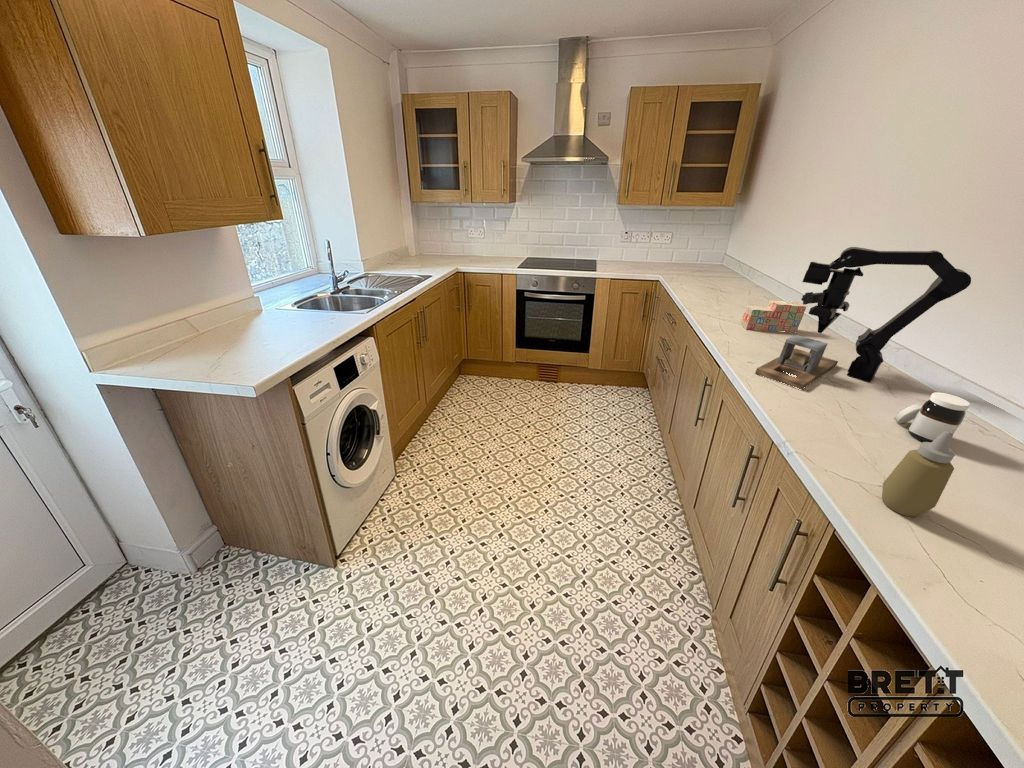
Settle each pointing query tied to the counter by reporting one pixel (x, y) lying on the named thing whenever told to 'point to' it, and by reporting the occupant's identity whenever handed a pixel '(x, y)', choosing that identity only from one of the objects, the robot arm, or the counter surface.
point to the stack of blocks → (774, 316)
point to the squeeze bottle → (920, 477)
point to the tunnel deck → (804, 378)
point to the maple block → (800, 358)
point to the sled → (796, 365)
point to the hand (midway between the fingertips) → (819, 332)
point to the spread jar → (934, 416)
